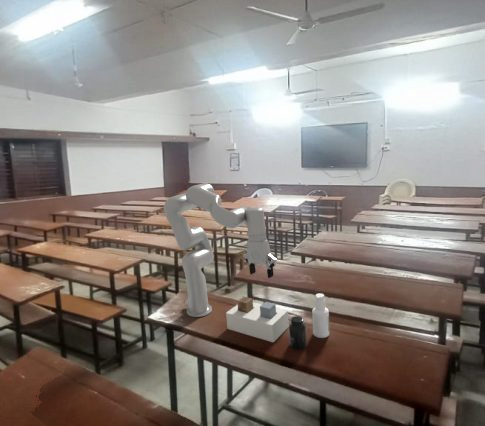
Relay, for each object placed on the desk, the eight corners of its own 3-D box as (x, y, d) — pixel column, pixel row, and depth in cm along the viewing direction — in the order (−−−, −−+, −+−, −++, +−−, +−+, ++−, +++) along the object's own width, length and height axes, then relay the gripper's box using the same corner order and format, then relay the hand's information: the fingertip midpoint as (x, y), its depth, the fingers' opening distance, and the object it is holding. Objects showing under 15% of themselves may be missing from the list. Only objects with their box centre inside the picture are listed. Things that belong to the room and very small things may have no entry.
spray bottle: (332, 332, 158) (331, 294, 154) (324, 340, 154) (322, 300, 150) (318, 327, 163) (317, 290, 159) (310, 334, 158) (308, 296, 154)
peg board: (227, 328, 168) (226, 312, 167) (244, 314, 180) (243, 299, 178) (273, 342, 155) (272, 325, 153) (288, 326, 166) (287, 310, 164)
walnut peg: (238, 314, 169) (237, 301, 167) (244, 309, 173) (243, 296, 171) (247, 316, 166) (246, 303, 164) (253, 311, 170) (252, 298, 168)
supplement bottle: (287, 348, 150) (285, 321, 148) (293, 339, 156) (291, 313, 153) (303, 351, 147) (302, 324, 144) (308, 342, 153) (307, 316, 150)
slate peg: (260, 320, 162) (259, 306, 160) (266, 314, 166) (265, 301, 164) (270, 322, 159) (269, 308, 158) (276, 317, 163) (275, 303, 162)
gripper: (236, 237, 159) (240, 275, 162) (268, 241, 147) (272, 281, 151) (247, 232, 164) (251, 269, 167) (279, 236, 153) (283, 275, 156)
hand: (261, 275), depth 159 cm, fingers open, 9 cm apart
